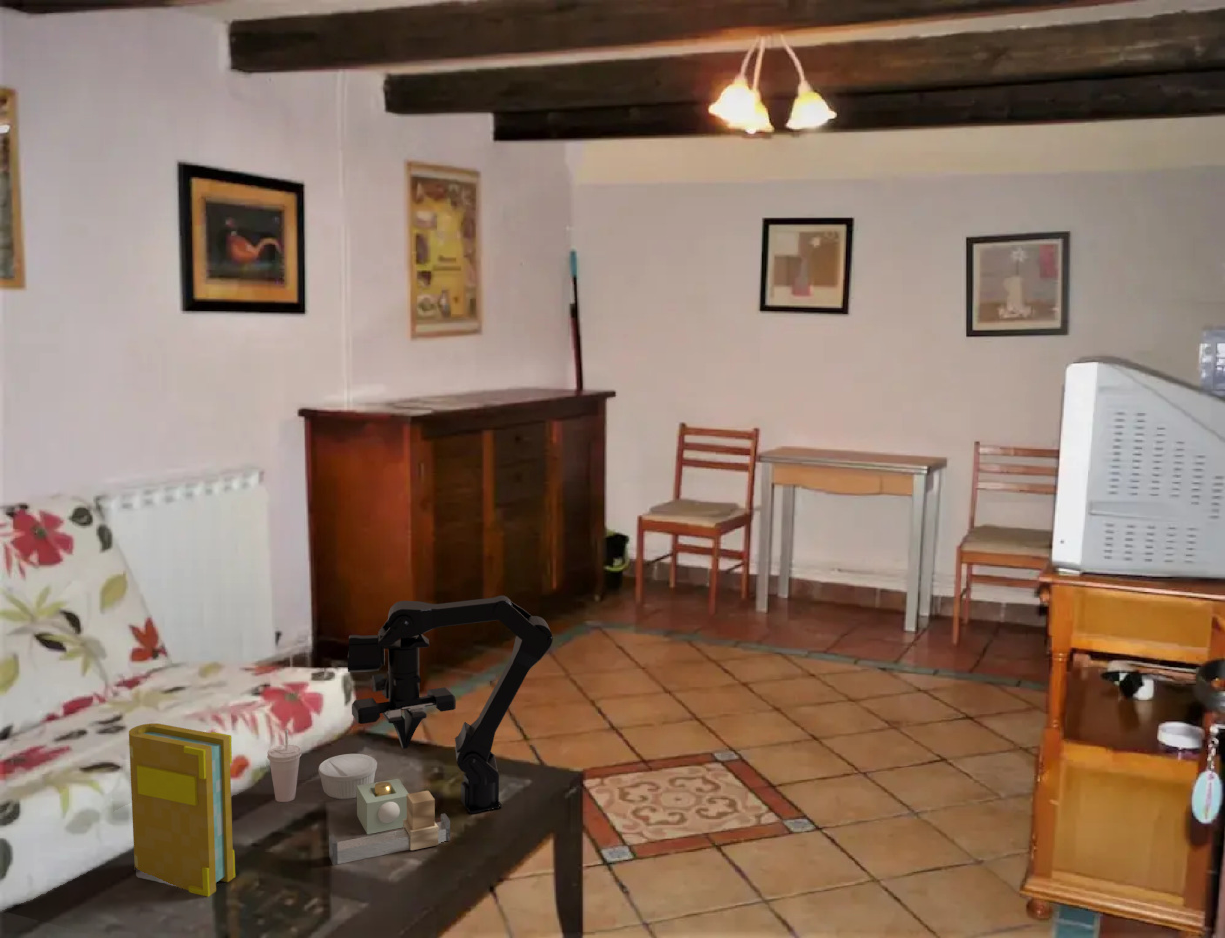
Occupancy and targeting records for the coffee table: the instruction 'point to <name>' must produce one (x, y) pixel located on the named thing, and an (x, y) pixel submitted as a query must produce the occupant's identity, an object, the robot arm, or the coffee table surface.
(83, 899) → the coffee table surface
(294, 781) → the smoothie
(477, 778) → the robot arm
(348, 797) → the ramekin
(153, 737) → the book
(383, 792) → the button
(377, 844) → the rail
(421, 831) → the carriage
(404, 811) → the cabinet
